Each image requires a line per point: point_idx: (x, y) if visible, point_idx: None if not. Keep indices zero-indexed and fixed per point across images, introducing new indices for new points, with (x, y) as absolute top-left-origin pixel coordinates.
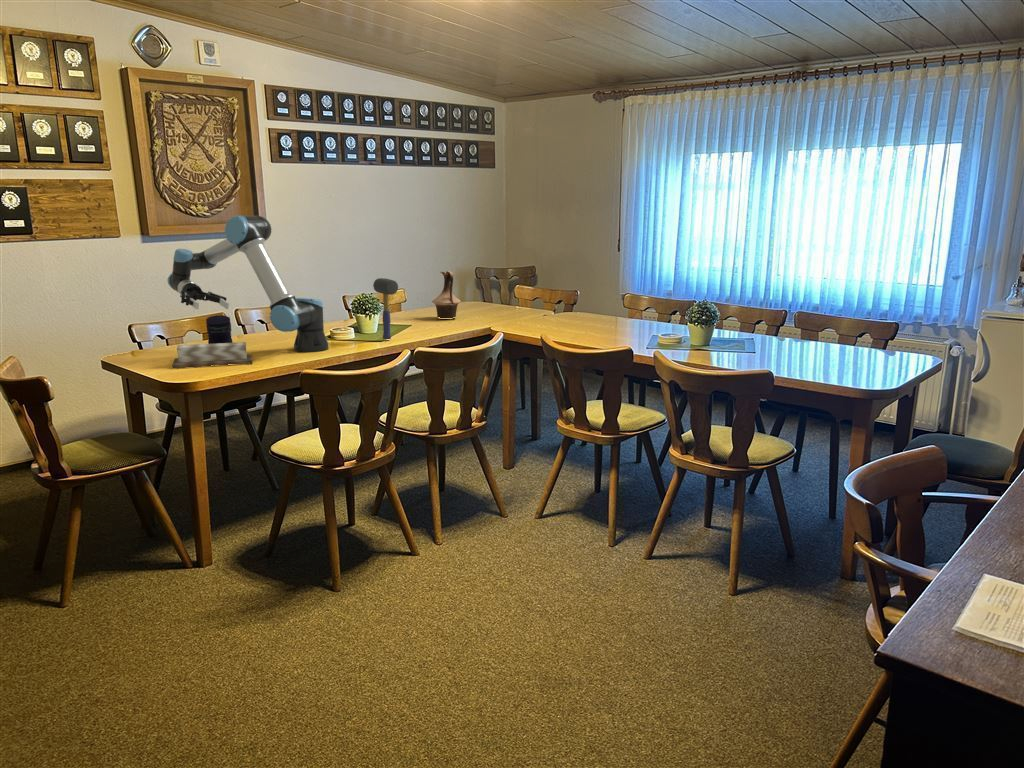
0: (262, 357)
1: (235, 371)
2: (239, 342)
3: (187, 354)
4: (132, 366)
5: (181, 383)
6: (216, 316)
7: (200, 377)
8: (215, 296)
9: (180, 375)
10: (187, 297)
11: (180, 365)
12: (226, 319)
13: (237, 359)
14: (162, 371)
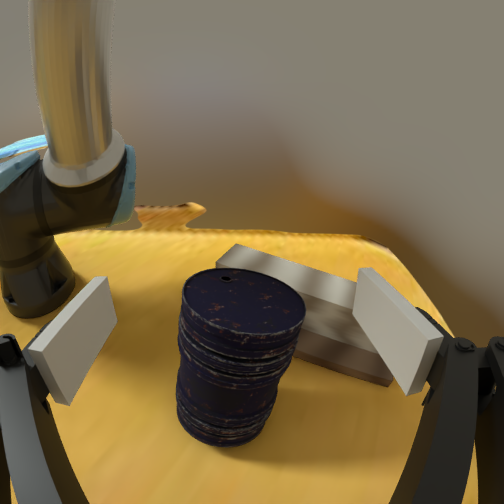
0: (171, 298)
1: (290, 248)
2: (232, 266)
3: None
4: None
5: (379, 243)
6: (228, 324)
7: (352, 251)
8: (13, 420)
9: (381, 274)
10: (472, 358)
11: None
12: (209, 281)
13: None
14: None
